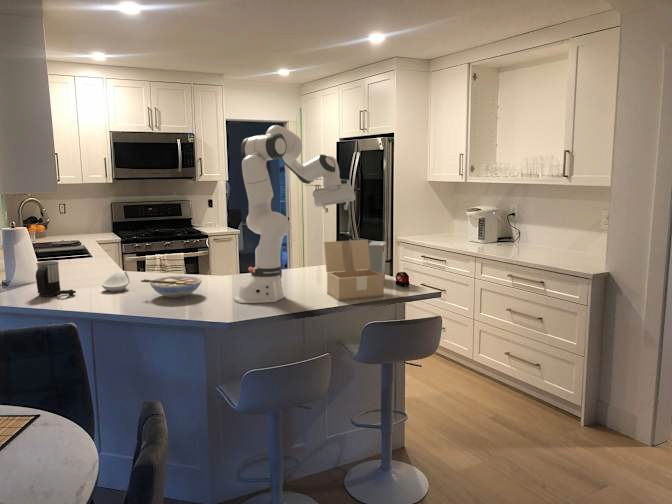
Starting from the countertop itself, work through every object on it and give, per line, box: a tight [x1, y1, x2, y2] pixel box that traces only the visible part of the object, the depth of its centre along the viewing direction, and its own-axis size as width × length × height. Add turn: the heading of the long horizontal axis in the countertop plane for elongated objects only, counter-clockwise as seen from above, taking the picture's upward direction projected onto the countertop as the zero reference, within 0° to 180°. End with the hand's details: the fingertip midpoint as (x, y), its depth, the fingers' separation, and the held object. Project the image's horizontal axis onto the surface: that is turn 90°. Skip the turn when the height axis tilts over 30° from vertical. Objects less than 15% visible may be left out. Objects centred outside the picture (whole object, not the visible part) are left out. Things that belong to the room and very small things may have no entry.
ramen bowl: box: [140, 274, 203, 299], centre depth 248 cm, size 25×23×8 cm
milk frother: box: [35, 260, 77, 297], centre depth 248 cm, size 14×16×15 cm
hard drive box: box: [366, 240, 387, 280], centre depth 279 cm, size 16×8×20 cm, turn 168°
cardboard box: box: [326, 269, 385, 302], centre depth 251 cm, size 22×14×10 cm, turn 112°
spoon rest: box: [101, 270, 130, 293], centre depth 265 cm, size 24×12×7 cm, turn 9°
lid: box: [323, 239, 370, 273], centre depth 257 cm, size 22×14×1 cm
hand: (336, 210), depth 267 cm, fingers open, 8 cm apart
